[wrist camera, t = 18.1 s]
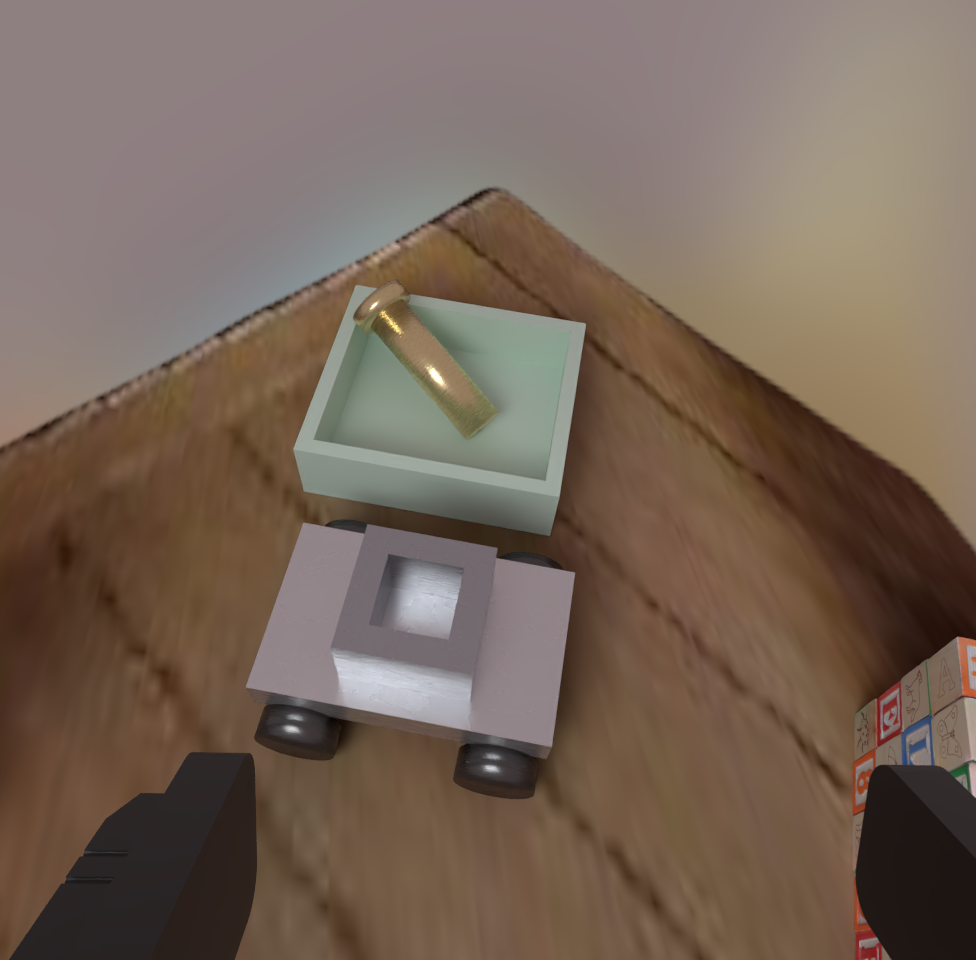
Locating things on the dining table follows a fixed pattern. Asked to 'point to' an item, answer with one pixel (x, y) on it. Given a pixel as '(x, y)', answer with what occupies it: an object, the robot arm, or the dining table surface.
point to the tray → (429, 433)
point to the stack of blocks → (916, 740)
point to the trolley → (416, 649)
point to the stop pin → (425, 358)
